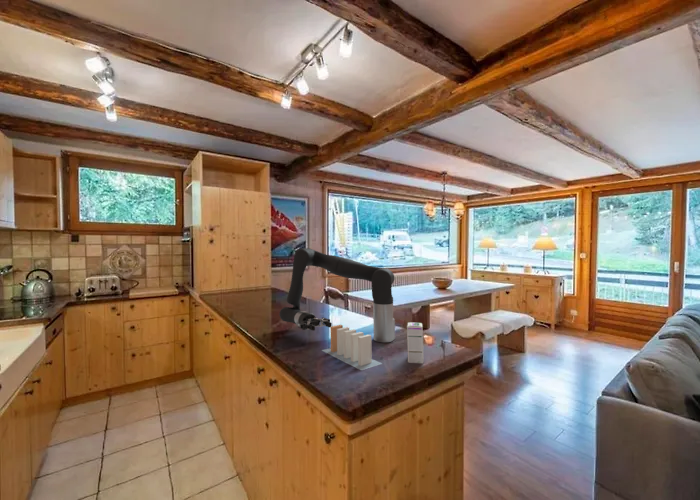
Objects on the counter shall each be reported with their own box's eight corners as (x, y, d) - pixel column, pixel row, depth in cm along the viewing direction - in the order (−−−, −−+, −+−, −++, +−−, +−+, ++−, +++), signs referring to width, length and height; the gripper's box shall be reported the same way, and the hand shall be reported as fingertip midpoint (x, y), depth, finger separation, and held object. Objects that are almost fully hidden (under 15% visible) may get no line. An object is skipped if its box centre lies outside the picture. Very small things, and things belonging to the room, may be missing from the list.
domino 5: (368, 361, 113) (368, 334, 113) (371, 362, 111) (371, 335, 111) (358, 364, 110) (358, 336, 110) (361, 365, 108) (360, 337, 108)
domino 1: (340, 348, 127) (340, 324, 127) (342, 349, 126) (342, 325, 126) (330, 351, 124) (330, 326, 124) (332, 352, 123) (332, 327, 123)
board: (341, 347, 131) (341, 345, 131) (382, 366, 110) (382, 363, 110) (321, 352, 125) (321, 350, 125) (361, 373, 104) (361, 370, 104)
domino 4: (361, 357, 116) (360, 331, 116) (363, 359, 115) (363, 332, 115) (350, 360, 113) (350, 334, 113) (353, 362, 112) (353, 335, 112)
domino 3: (354, 354, 120) (353, 329, 120) (356, 355, 119) (356, 330, 118) (343, 357, 117) (343, 331, 117) (346, 358, 116) (345, 332, 115)
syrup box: (423, 366, 110) (423, 326, 110) (407, 365, 111) (406, 325, 111) (423, 360, 116) (422, 322, 116) (407, 359, 117) (407, 321, 117)
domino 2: (347, 351, 123) (347, 326, 123) (349, 352, 122) (349, 327, 122) (337, 354, 120) (336, 329, 120) (339, 355, 119) (339, 329, 119)
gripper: (291, 314, 142) (308, 320, 129) (317, 310, 151) (335, 315, 138) (291, 330, 142) (308, 338, 129) (317, 325, 151) (336, 332, 138)
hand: (322, 326), depth 134 cm, fingers open, 8 cm apart
